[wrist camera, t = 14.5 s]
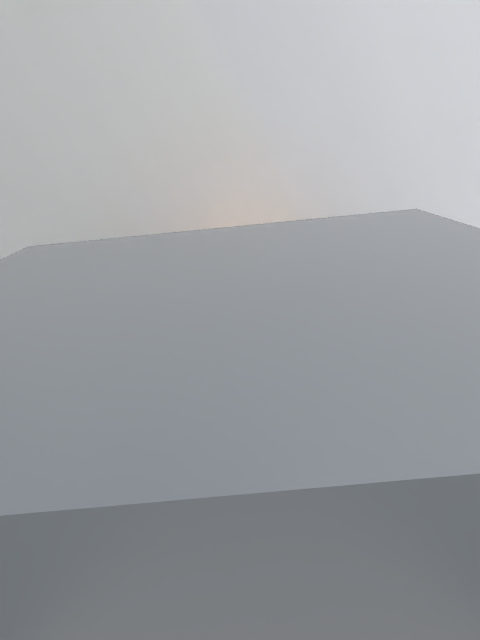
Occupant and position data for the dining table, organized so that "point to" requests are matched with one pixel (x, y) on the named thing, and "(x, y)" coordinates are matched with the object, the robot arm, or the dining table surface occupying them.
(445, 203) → the dining table surface
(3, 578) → the grey matte cube
